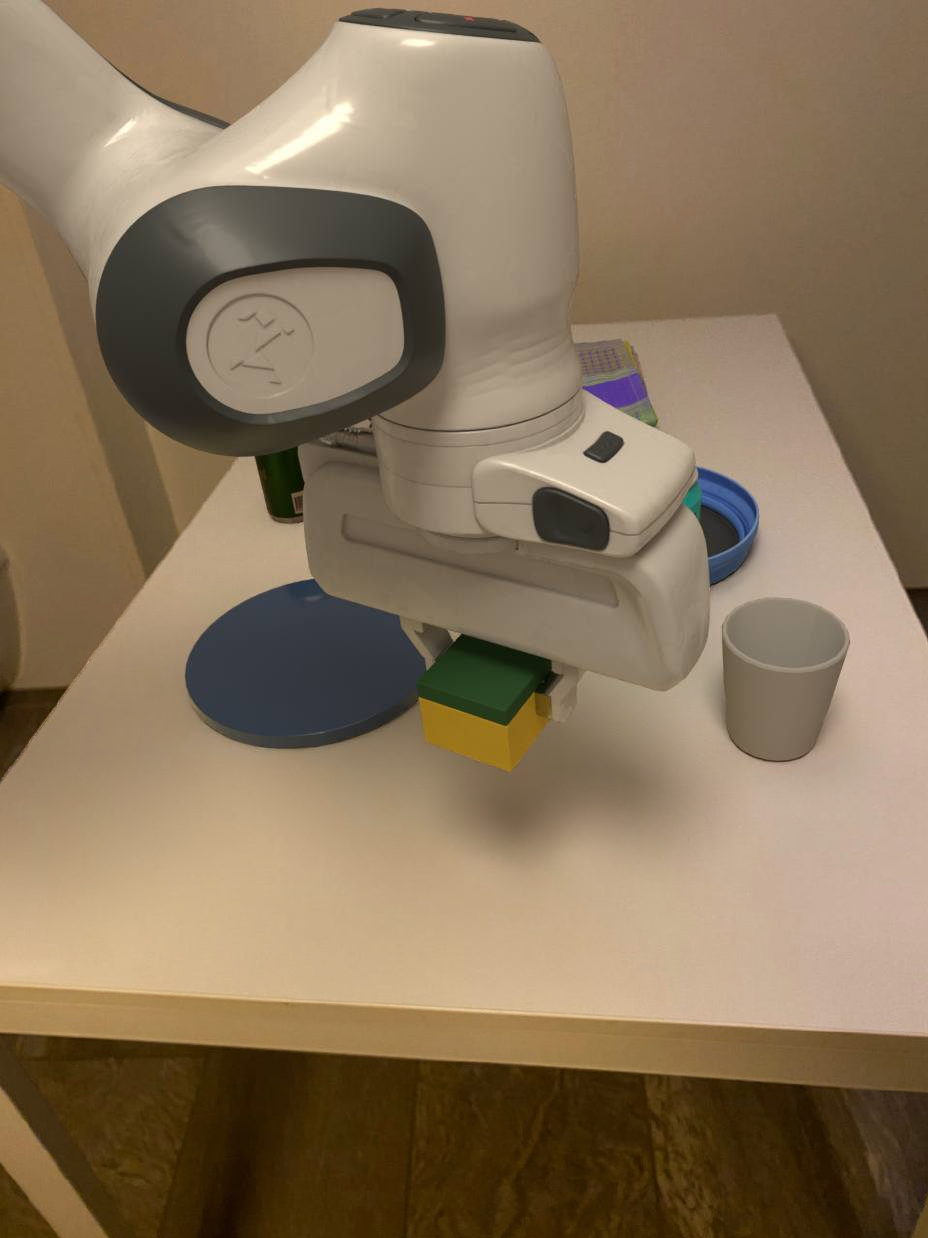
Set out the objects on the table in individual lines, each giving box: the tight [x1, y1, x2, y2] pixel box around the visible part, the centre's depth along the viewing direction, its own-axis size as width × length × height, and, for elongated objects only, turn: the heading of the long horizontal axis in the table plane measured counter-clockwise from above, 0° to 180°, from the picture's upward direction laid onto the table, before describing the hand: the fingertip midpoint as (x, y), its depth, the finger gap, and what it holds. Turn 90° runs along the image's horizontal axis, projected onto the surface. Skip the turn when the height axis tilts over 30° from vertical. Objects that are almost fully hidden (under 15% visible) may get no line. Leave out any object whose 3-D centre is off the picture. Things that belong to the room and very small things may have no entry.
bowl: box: [696, 465, 760, 585], centre depth 84 cm, size 18×18×4 cm
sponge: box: [416, 633, 583, 773], centre depth 49 cm, size 8×5×4 cm, turn 149°
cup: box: [721, 596, 851, 762], centre depth 63 cm, size 8×10×8 cm
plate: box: [184, 578, 427, 749], centre depth 75 cm, size 20×20×1 cm
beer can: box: [253, 446, 305, 524], centre depth 92 cm, size 5×5×12 cm
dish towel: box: [574, 338, 659, 428], centre depth 110 cm, size 18×24×3 cm
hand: (501, 694), depth 49 cm, fingers closed on sponge, 5 cm apart
